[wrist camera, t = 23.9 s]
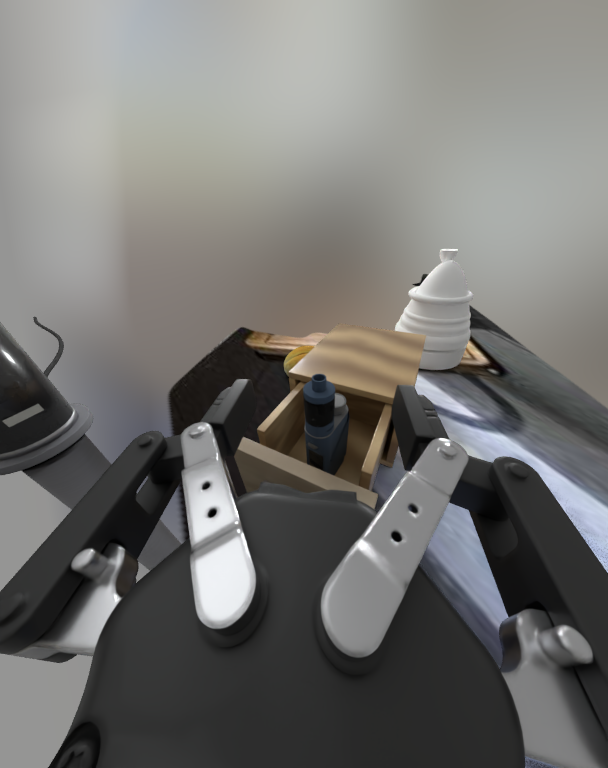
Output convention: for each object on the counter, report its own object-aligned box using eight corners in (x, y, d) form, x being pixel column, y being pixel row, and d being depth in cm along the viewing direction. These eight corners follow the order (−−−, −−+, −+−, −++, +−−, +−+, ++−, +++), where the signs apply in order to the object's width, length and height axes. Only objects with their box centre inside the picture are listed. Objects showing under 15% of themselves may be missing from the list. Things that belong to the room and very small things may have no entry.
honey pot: (387, 339, 53) (403, 248, 42) (448, 340, 50) (480, 245, 40) (395, 368, 42) (418, 258, 32) (472, 371, 40) (524, 254, 30)
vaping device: (302, 479, 23) (293, 381, 16) (328, 444, 26) (330, 350, 19) (325, 493, 22) (325, 392, 15) (349, 454, 25) (359, 357, 18)
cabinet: (392, 468, 26) (411, 402, 20) (294, 432, 31) (288, 371, 25) (410, 391, 37) (426, 334, 31) (336, 374, 42) (338, 323, 36)
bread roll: (325, 356, 47) (325, 338, 45) (330, 381, 40) (330, 361, 38) (285, 358, 47) (284, 340, 45) (282, 383, 40) (280, 363, 38)
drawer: (341, 633, 15) (348, 602, 10) (214, 543, 20) (182, 494, 15) (395, 434, 28) (408, 383, 24) (312, 408, 33) (310, 361, 28)
